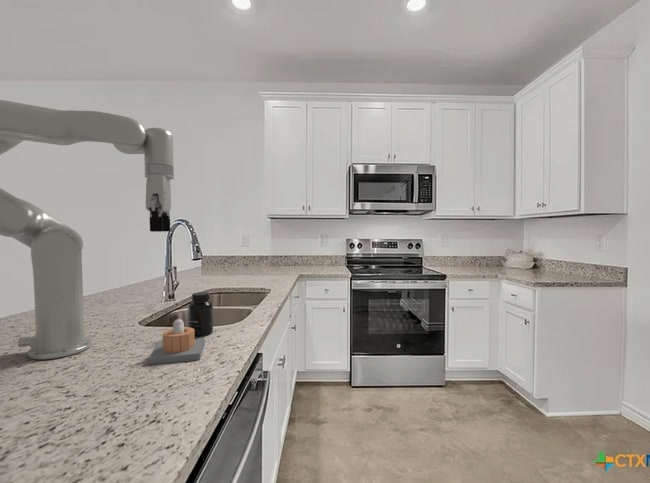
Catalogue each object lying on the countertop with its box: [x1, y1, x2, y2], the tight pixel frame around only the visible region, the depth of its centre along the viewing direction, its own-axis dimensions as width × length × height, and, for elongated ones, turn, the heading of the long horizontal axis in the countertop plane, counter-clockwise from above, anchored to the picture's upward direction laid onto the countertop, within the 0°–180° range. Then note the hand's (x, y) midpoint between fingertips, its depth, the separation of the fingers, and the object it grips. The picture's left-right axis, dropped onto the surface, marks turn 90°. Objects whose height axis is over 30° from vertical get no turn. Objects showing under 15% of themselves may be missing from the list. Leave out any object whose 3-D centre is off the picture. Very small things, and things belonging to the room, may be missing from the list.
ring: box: [162, 326, 195, 353], centre depth 80 cm, size 7×7×4 cm
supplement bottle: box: [187, 291, 214, 338], centre depth 95 cm, size 7×7×12 cm
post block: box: [147, 318, 206, 366], centre depth 80 cm, size 11×11×8 cm
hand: (160, 231), depth 95 cm, fingers open, 9 cm apart
